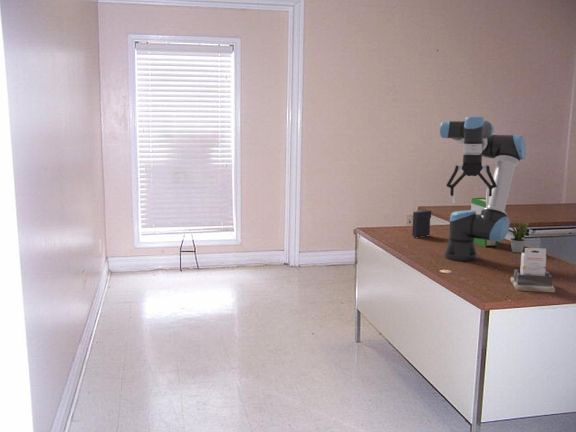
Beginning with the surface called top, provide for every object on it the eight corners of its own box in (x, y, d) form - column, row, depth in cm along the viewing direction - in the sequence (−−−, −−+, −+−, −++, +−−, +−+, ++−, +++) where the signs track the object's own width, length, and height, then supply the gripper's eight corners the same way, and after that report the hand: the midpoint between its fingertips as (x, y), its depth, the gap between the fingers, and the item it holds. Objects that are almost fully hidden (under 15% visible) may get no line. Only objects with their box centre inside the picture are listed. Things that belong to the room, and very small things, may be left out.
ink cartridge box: (541, 280, 221) (544, 245, 219) (544, 284, 216) (547, 248, 214) (519, 280, 223) (521, 245, 220) (522, 283, 218) (524, 248, 215)
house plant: (514, 246, 288) (516, 216, 286) (538, 251, 277) (540, 220, 274) (497, 250, 281) (499, 219, 278) (521, 255, 269) (523, 223, 267)
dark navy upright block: (424, 234, 319) (425, 209, 316) (430, 236, 315) (431, 210, 313) (411, 237, 313) (412, 211, 310) (416, 238, 309) (417, 212, 307)
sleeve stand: (510, 280, 228) (511, 267, 227) (546, 282, 225) (547, 269, 224) (516, 290, 214) (517, 276, 213) (555, 292, 211) (556, 278, 210)
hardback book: (497, 246, 288) (500, 202, 284) (484, 247, 287) (487, 202, 283) (481, 239, 306) (484, 197, 301) (469, 240, 305) (471, 197, 300)
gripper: (442, 154, 227) (440, 204, 231) (505, 154, 221) (502, 205, 225) (441, 153, 234) (439, 201, 238) (502, 153, 228) (499, 202, 232)
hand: (470, 203), depth 232 cm, fingers open, 13 cm apart
